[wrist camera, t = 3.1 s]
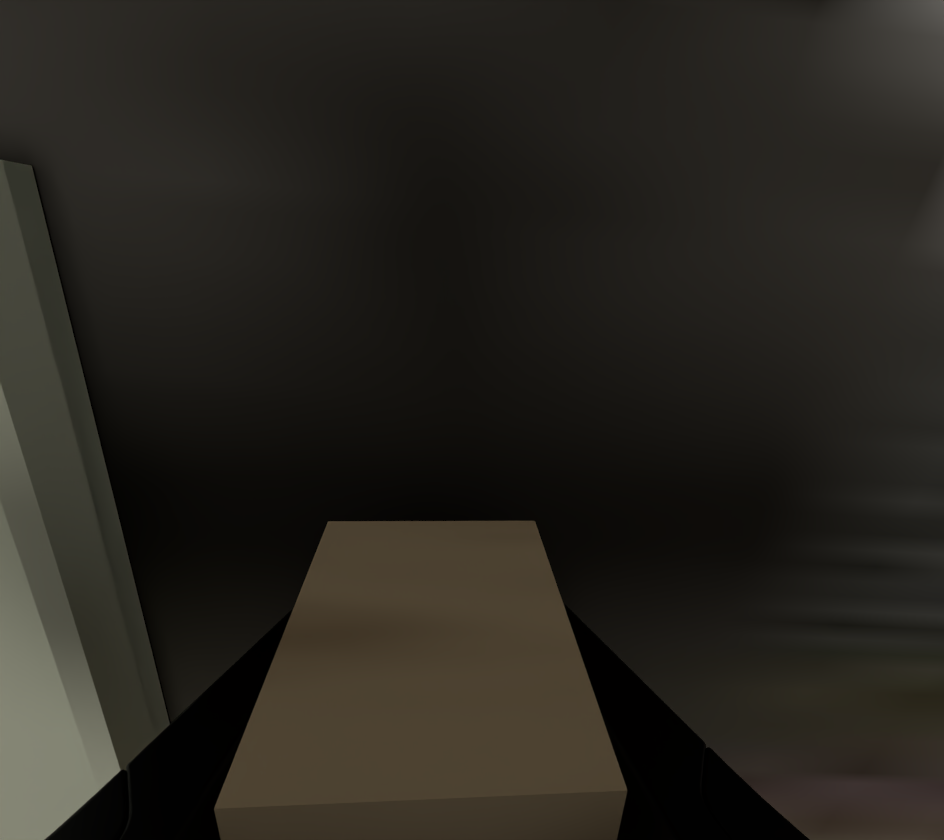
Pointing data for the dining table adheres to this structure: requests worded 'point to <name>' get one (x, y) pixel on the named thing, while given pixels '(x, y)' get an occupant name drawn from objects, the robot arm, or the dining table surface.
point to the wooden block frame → (426, 698)
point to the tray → (58, 555)
